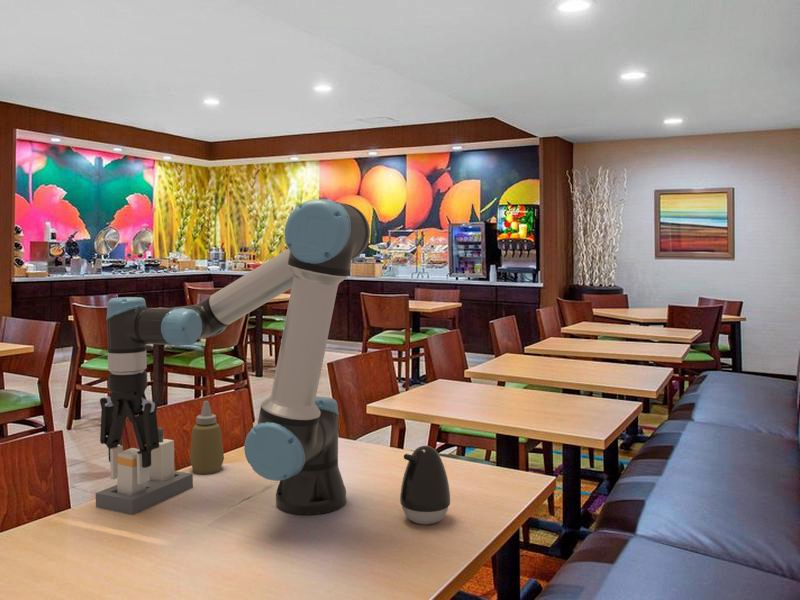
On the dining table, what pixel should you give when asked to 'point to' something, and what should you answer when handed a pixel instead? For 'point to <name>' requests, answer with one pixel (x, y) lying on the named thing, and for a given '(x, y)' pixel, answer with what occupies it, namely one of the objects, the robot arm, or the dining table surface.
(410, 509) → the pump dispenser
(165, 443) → the twin plug
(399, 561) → the dining table surface
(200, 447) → the squeeze bottle
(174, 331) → the robot arm
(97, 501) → the grey flat block
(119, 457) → the plug
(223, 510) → the dining table surface
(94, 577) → the dining table surface
